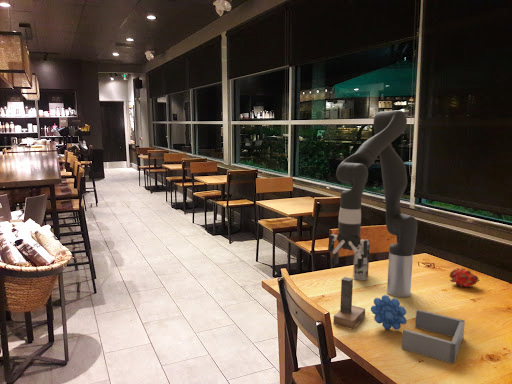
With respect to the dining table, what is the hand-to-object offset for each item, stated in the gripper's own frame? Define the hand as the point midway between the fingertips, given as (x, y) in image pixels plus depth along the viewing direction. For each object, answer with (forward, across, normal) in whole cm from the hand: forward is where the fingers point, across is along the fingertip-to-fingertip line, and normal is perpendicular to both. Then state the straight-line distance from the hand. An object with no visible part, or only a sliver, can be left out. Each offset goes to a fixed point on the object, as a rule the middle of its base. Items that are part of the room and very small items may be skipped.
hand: (347, 265), depth 143 cm
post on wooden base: (+20, -2, 0) cm, 20 cm away
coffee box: (+20, +11, -45) cm, 50 cm away
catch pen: (+20, -29, 0) cm, 35 cm away
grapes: (+20, -15, 0) cm, 25 cm away
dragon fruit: (+19, -30, -60) cm, 70 cm away
